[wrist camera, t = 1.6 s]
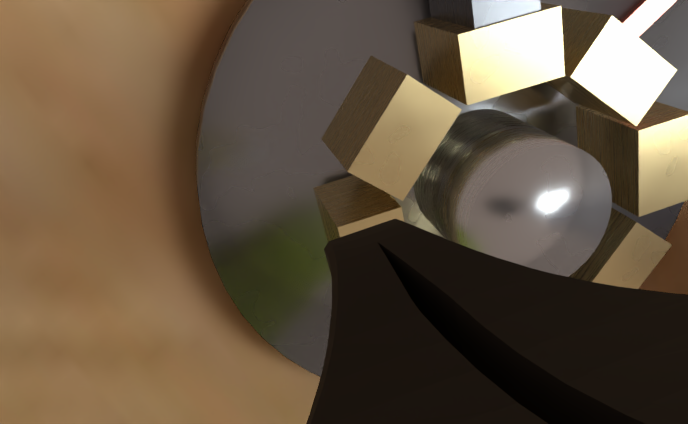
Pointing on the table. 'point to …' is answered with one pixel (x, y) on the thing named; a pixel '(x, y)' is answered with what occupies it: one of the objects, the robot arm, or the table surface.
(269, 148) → the grey round disc
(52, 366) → the table surface
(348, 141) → the gear with bar handle
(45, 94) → the table surface
